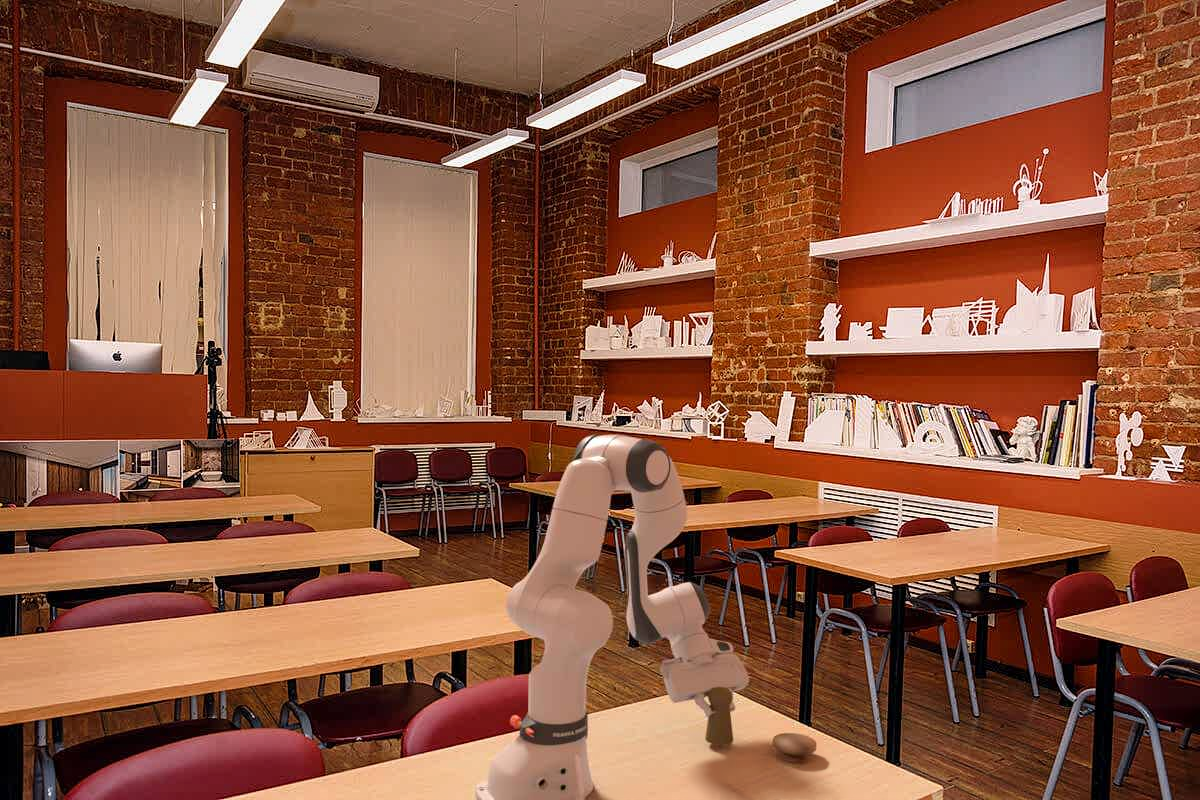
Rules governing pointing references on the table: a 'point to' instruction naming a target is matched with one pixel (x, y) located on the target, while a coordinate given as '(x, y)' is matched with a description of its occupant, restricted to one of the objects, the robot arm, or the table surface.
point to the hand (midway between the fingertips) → (721, 713)
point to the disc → (794, 747)
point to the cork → (720, 717)
